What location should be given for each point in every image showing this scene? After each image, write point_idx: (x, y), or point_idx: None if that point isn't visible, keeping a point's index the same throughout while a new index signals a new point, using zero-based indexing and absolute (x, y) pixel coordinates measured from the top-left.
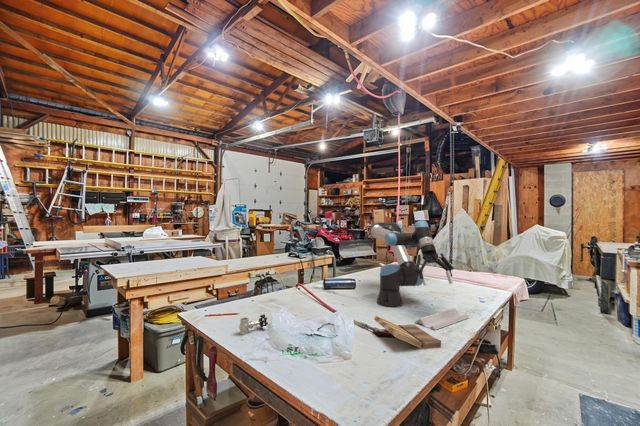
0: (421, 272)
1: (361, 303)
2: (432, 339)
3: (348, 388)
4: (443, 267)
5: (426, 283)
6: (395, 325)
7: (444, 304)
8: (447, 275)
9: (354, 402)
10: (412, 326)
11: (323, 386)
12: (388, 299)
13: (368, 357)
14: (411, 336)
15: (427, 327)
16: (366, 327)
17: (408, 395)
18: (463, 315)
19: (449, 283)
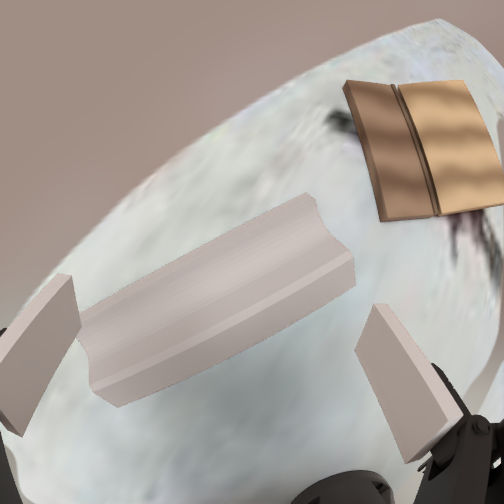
0: (455, 423)
1: None
2: (364, 97)
3: (480, 61)
4: (6, 489)
5: (378, 306)
6: (456, 178)
7: (96, 481)
8: (34, 382)
9: (469, 44)
10: (397, 196)
11: (499, 76)
12: (376, 489)
13: (479, 105)
14: (421, 109)
15: (323, 224)
16: (492, 248)
17: (424, 25)
18: (90, 317)
19: (78, 325)
